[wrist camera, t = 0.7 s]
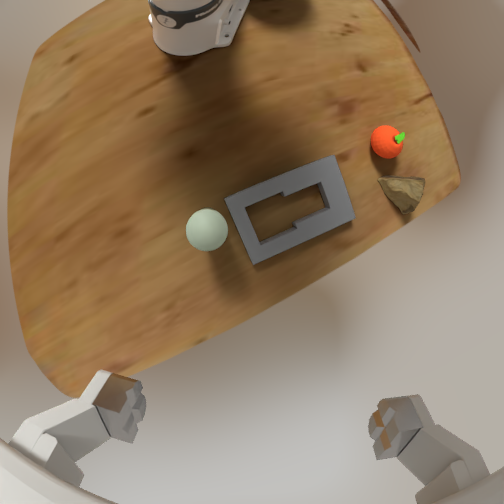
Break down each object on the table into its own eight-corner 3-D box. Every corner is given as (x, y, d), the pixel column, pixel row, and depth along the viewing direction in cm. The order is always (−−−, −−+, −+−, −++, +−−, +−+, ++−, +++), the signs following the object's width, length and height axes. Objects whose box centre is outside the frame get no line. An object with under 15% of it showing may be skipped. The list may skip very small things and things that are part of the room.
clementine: (382, 120, 50) (402, 115, 43) (397, 147, 52) (418, 145, 45) (358, 136, 50) (377, 132, 44) (375, 165, 52) (394, 164, 46)
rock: (422, 212, 54) (421, 171, 51) (426, 225, 48) (426, 179, 44) (380, 212, 59) (377, 172, 56) (379, 225, 53) (376, 179, 49)
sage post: (200, 198, 49) (197, 202, 37) (228, 212, 50) (235, 220, 38) (186, 227, 50) (179, 240, 38) (214, 240, 51) (216, 257, 39)
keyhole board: (251, 261, 53) (253, 264, 51) (223, 198, 50) (224, 198, 47) (350, 216, 54) (355, 218, 52) (329, 155, 51) (334, 154, 48)
